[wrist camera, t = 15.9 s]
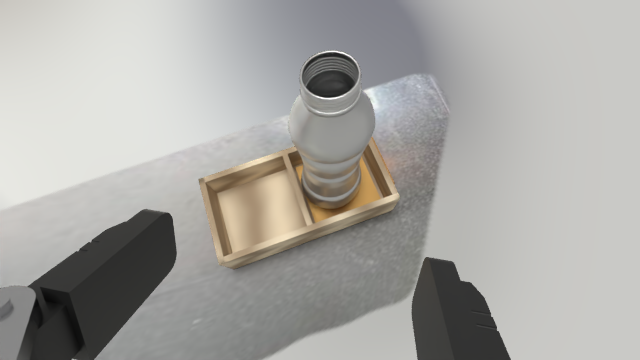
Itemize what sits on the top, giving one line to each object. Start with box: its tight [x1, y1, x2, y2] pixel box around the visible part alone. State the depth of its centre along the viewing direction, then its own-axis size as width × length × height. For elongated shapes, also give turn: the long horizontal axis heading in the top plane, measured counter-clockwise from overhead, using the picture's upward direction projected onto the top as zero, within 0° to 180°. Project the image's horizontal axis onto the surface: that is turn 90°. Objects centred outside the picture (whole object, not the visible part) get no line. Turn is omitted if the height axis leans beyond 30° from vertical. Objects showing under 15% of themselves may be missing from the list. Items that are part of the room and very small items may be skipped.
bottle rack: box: [199, 137, 400, 269], centre depth 36 cm, size 20×10×5 cm, turn 110°
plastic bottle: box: [288, 50, 375, 209], centre depth 28 cm, size 6×7×20 cm
